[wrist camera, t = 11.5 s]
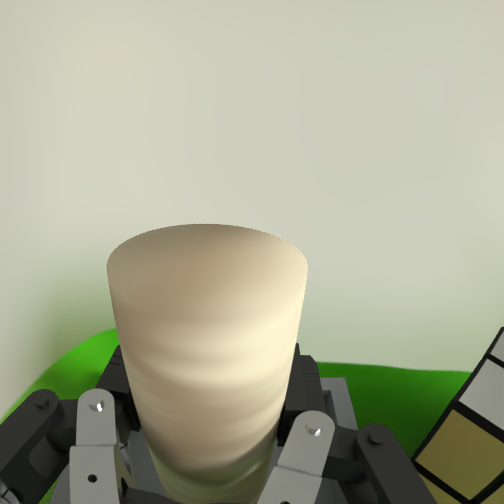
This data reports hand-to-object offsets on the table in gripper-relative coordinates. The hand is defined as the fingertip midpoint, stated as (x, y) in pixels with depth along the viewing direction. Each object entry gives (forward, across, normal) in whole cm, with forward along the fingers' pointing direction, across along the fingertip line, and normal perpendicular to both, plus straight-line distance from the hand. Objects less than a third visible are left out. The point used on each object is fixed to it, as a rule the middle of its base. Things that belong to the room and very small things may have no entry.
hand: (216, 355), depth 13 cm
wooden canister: (-3, 0, +8) cm, 8 cm away
